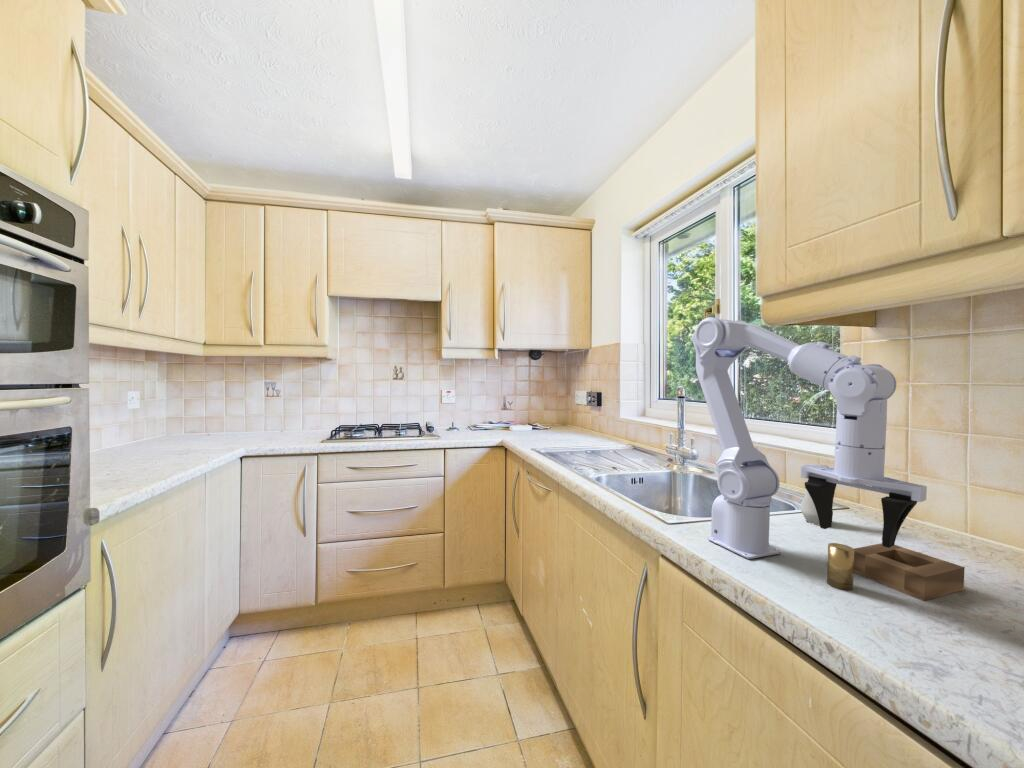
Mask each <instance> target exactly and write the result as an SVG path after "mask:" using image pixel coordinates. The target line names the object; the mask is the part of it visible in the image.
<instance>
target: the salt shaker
mask: <svg viewBox="0 0 1024 768" xmlns="http://www.w3.org/2000/svg"><path fill="white" fill-rule="evenodd" d="M807 465H813V466H819V467H827V468H830V467H829V466H828V465H827V464H822V463H815V462H814V463H808V464H807ZM800 510H801V513H802V515H803V516H802V517H804V520H805V519H806V520H805V521H806V522H807V521H808V522H807V523H809V522H811V523H810V524H812V523H814V524H813V525H815V524H820V523H819V518H818V515H817V511H816V508H815V505H814V503H813V501H812V498H811V496H810V495H809V493H808V491H807V489H806V488H805V492H804V496H803V500H802V504H801V508H800ZM833 516H834V512H833V509H832V518H834V517H833Z"/></svg>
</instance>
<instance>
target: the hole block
mask: <svg viewBox="0 0 1024 768" xmlns="http://www.w3.org/2000/svg"><path fill="white" fill-rule="evenodd" d="M853 549H854V573H855V574H857V575H860V576H862V577H863V578H864V577H865V578H867V579H869V580H872V581H874V582H877V583H879V584H881V585H884V586H886V587H889V588H891V589H893V590H896V591H898V592H901V593H903V594H906V595H908V596H911V597H913V598H915V599H918V600H921V601H924V602H925V601H929V600H932V599H936V598H939V597H943V596H947V595H950V594H955V593H957V592H961V591H964V588H965V569H966V568H965V567H966V566H961V565H958V564H955V563H953V562H950V561H948V560H947V561H946V560H943V559H941V558H937V557H934V556H931V555H927V554H925V553H921V552H919V551H916V550H912V549H909V548H906V547H903V546H900V545H897V544H894V546H892V547H890V548H888V547H884V546H882V542H881V543H877V544H870V545H866V546H860V547H856V548H853Z"/></svg>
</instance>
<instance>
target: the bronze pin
mask: <svg viewBox="0 0 1024 768" xmlns="http://www.w3.org/2000/svg"><path fill="white" fill-rule="evenodd" d="M826 563H827V564H826V570H827V571H826V584H827V585H828V586H830V587H832V588H834V589H835V590H840V591H846V592H850V591H851V592H852V591H853V590H854V548H853V547H851V546H849V545H847V544H843V543H837V542H830V543H828V544H827V562H826Z"/></svg>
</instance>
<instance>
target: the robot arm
mask: <svg viewBox="0 0 1024 768" xmlns="http://www.w3.org/2000/svg"><path fill="white" fill-rule="evenodd" d="M691 341H692V343H693V348H694V349H695V370H696V374H697V377H698V381H699V384H700V386H701V390H702V393H703V397H704V399H705V403H706V405H707V406H706V407H707V408H708V412H709V415H710V418H711V420H712V421H711V422H712V425H713V427H714V431H715V433H716V436H717V439H718V443H719V446H720V449H721V452H722V453H721V455H720V456H719V458H718V460H717V461H716V463H715V466H716V469H717V478H716V479H717V480H716V482H717V487H718V490H719V492H720V495H718V496H717V497H715V499H714V501H713V502H712V506H711V520H710V521H711V524H710V536H708V537H707V540H708V541H710V542H711V543H715V544H716V545H719V546H721V547H722V548H725V549H727V550H729V551H731V552H733V553H734V554H737V555H739V556H741V557H742V558H743V557H744V558H745V559H748V560H752V559H757V558H762V557H763V558H764V557H768V556H774V555H780V554H781V550H779V549H777V548H775V547H773V546H771V545H770V544H769V543H770V522H771V521H770V516H771V502H772V498H773V497H772V496H774V495H776V494H777V493H778V491H779V488H780V477H779V476H778V473H777V472H776V470H775V469H774V468H773V467H772V466H771V465H770V462H769V461H768V459H767V456H766V455H765V454H764V453H763V452H761V451H760V450H759V449H758V448H756V447H755V446H754V443H753V440H752V438H751V435H750V431H749V428H748V426H747V423H746V421H745V418H744V415H743V412H742V409H741V406H740V403H739V400H738V398H737V395H736V392H735V389H734V386H733V383H732V380H731V378H730V375H729V372H728V370H729V368H730V367H731V365H732V364H733V363H735V362H736V360H737V359H738V358H739V357H740V356H741V355H742V354H743V353H744V352H745V351H746V350H747V349H748V348H753V349H755V350H758V351H761V352H762V353H764V354H767V355H771V356H772V357H775V358H777V359H780V360H782V361H784V362H786V363H788V366H789V370H790V372H791V373H792V374H793V375H796V376H798V377H800V378H802V379H804V380H807V381H809V382H811V383H812V384H814V385H817V386H819V387H821V388H823V389H825V390H827V391H829V392H830V395H831V396H832V397H833V398H834V399H835V402H836V420H835V421H836V423H835V443H834V446H835V447H834V462H833V463H834V465H833V467H829V468H827V467H819V466H813V465H808V464H802V465H800V466H801V467H800V477H801V478H804V479H807V481H805V482H804V488H805V490H806V489H807V491H808V493H809V495H810V496H811V498H812V501H813V503H814V505H815V508H816V511H817V515H818V518H819V523H820V525H819V527H820V529H823V530H827V529H829V528H832V525H833V517H832V510H833V504H834V497H835V494H836V493H835V492H836V488H837V485H841V486H846V487H851V488H855V489H856V488H857V489H860V490H865V491H866V490H867V491H871V492H876V493H881V494H886V496H884V497H881V498H880V499H881V500H880V502H881V507H882V515H883V518H882V519H883V520H882V521H883V527H882V537H881V543H882V546H884V547H888V548H890V547H892V546H894V545H896V539H897V536H898V534H899V531H900V529H901V527H902V525H903V523H904V521H905V520H906V518H907V516H908V515H909V514H910V512H911V511H912V510H913V509H914V507H915V506H916V505H917V504H918V502H919V503H922V502H925V501H926V500H927V491H928V490H927V488H928V486H926V485H924V484H923V485H922V484H918V483H917V484H916V483H914V482H907V481H904V480H900V479H895V478H891V477H887V476H885V461H886V459H885V458H886V444H887V443H886V442H887V424H888V423H887V422H888V421H887V420H888V419H887V418H888V400H889V399H890V398H891V397H892V396H893V395H894V393H895V392H896V389H897V379H896V377H895V375H894V374H893V373H892V371H890V370H889V369H887V368H885V367H884V366H883V365H881V364H878V363H875V364H874V363H870V364H869V363H868V364H862V362H861V361H862V358H861V357H859V356H857V355H850V356H848V355H845V354H843V353H840V352H839V351H836V350H834V349H831V344H830V343H827V342H826V341H825V342H824V341H817V343H816V342H813V341H811V342H810V341H809V342H807V343H803V344H801V345H800V344H798V343H796V342H793V341H791V340H789V339H787V338H786V337H784V336H781V335H779V334H777V333H775V332H773V331H771V330H768V329H767V328H765V327H762V326H760V325H758V324H755V323H750V322H746V321H744V320H732V319H723V318H722V319H721V318H717V317H716V318H715V317H712V316H711V317H705V318H704V319H702V320H700V322H699V323H698V324H697V326H696V328H695V330H694V332H693V335H692V336H691Z"/></svg>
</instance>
